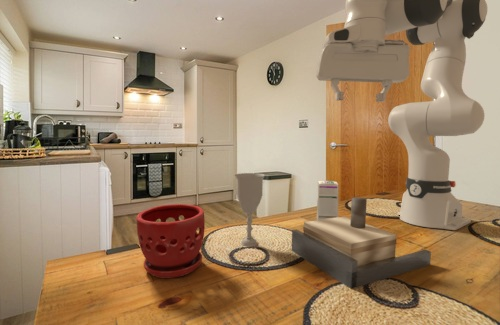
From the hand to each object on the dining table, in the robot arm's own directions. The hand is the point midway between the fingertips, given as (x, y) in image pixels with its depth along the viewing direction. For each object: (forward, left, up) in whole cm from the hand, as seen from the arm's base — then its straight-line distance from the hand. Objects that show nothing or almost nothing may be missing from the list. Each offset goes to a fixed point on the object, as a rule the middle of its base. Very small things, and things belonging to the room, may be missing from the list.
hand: (359, 100), depth 65 cm
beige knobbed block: (+8, +5, -35) cm, 36 cm away
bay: (+4, +5, -36) cm, 36 cm away
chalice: (+22, -12, -36) cm, 44 cm away
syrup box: (-4, -14, -36) cm, 39 cm away
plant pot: (+41, -9, -36) cm, 55 cm away
